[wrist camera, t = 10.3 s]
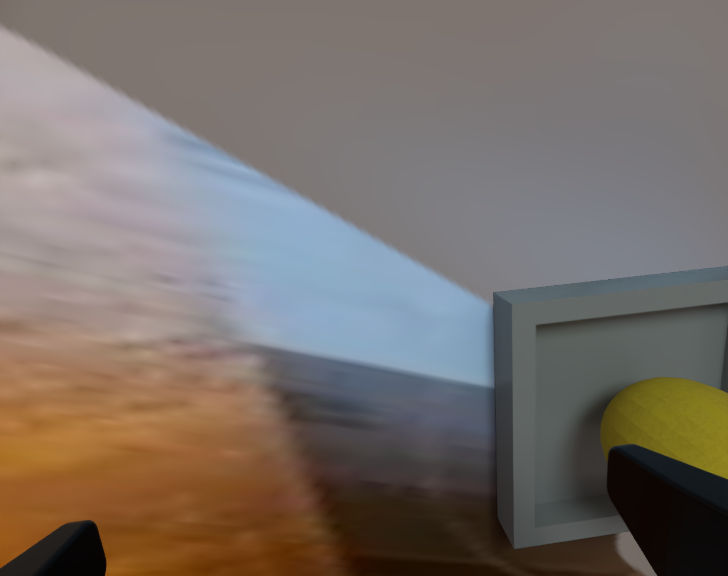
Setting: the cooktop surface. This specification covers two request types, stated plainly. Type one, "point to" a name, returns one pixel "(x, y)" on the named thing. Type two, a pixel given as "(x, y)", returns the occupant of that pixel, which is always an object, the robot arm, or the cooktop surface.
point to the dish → (589, 386)
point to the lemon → (671, 421)
